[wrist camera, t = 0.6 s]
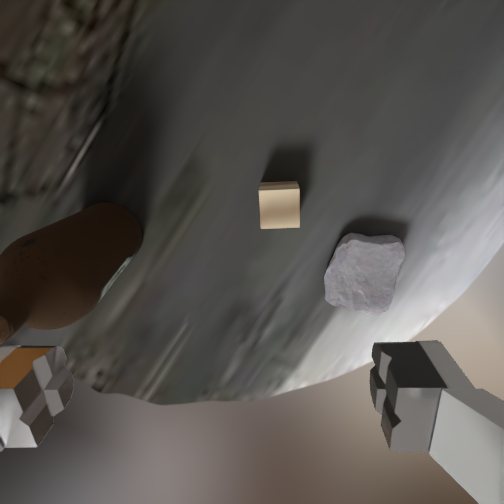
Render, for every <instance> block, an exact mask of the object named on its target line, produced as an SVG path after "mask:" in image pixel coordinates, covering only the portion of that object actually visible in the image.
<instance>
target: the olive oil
mask: <svg viewBox="0 0 504 504" xmlns="http://www.w3.org/2000/svg"><path fill="white" fill-rule="evenodd" d="M141 244H142V230H141V227H140V224H139V222H138V221H137V219H136V218H135V217H134V215H133V214H132V213H131V212H130V211H128V210H127V209H125V208H124V207H122V206H120V205H117V204H114V203H107V202H105V203H98V204H95V205H92V206H90V207H88V208H86V209H84V210H82V211H80V212H78V213H76V214H74V215H71V216H69V217H67V218H65V219H62V220H60V221H58V222H56V223H53V224H51V225H49V226H46V227H44V228H42V229H39V230H37V231H34V232H32V233H30V234H27V235H25V236H23V237H21V238H19V239H17V240H16V241H14V242H13V243H11V244H10V245H9V246H8V247H7V248H6V249H5V250H4V251H3V252H2V254H1V255H0V344H2V343H3V342H4V341H6V340H8V339H10V338H11V337H12V336H13V335H14V334H15V333H16V332H17V331H18V330H19V329H20V328H21V327H22V326H24V327H29V328H35V329H44V330H48V329H57V328H62V327H65V326H68V325H70V324H72V323H74V322H76V321H78V320H80V319H82V318H83V317H85V316H86V315H87V314H88V313H89V312H91V311H92V310H93V309H94V307H95V306H96V305H97V304H98V302H99V301H100V300H101V298H102V297H103V296H104V294H105V293H106V292H107V290H108V289H109V288H110V286H111V285H112V284H113V283H114V281H115V280H116V279H117V277H118V276H119V275H120V274H121V272H122V271H123V270H124V268H125V267H126V266H127V265H128V264H129V262H130V261H131V260H132V259H133V257H134V256H135V255H136V254H137V252H138V251H139V249H140V247H141Z"/></svg>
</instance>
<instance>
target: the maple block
mask: <svg viewBox="0 0 504 504" xmlns="http://www.w3.org/2000/svg"><path fill="white" fill-rule="evenodd" d="M259 201H260V221H261V229H271V228H298V227H300V189H299V186H298V183H297V181H286V182H264V183H260V187H259Z"/></svg>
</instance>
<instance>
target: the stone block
mask: <svg viewBox="0 0 504 504" xmlns="http://www.w3.org/2000/svg"><path fill="white" fill-rule="evenodd" d="M404 256H405V248H404V246H403V244H402V241H401V239H400V238H398V237H396V236H393V235H380V236H372V237H370V236H365V235H362V234H356V233H349V234H347V235H345V236H344V237H343V238H342V240H341V241H340V242H339V243H338V246H337V248H336V250H335V253H334V255H333V258H332V260H331V261H330V265H329V267H328V268H327V271H326V273H325V276H324V282H325V299H326V300H327V301H328V302H329V303H330V304H332V305H334V306H337V307H342V308H345V309H349V310H354V311H361V312H364V313H367V314H372V315H378V314H380V313H382V312H385V311H386V310H388V308H389V306H390V304H391V301H392V298H393V294H394V290H395V285H396V278H397V274H398V270H399V268H400V264H401V263H402V261H403V259H404Z"/></svg>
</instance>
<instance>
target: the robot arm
mask: <svg viewBox="0 0 504 504" xmlns="http://www.w3.org/2000/svg"><path fill="white" fill-rule="evenodd" d="M372 358H373V360H374V363H375V366H374V367H373V368H372V369H371V370H370V391H371V396H372V401H373V404H374V407H375V410H376V411H378V412H379V413H380V414H381V415H382V419H381V427H382V430H383V433H384V436H385V438H386V441H387V444H388V447H389V450H390V451H407V452H430V453H429V455H430V456H431V457H432V458H433V459H434V460H435V461H436V462H437V463H439V465H441V466H442V467H443V468H444V469H445V470H446V471H447V472H448V473H449V474H450V475H451V476H452V477H453V478H454V479H455V480H456V481H457V482H458V483H459V484H460V485H461V486H462V487H463V488H464V489H465V490H466V491H467V492H468V493H469V494H470V495H471V496H472V497H473V498H474V499H475V500H476V501H477V502H478V503H479V504H504V401H503V400H501V399H499V398H498V397H496V396H494V395H492V394H490V393H489V392H487V391H485V390H484V389H475V387H474V386H473V385H472V383H471V382H470V381H469V379H468V378H467V377H466V376H465V374H464V373H463V372H462V370H461V369H460V368H459V366H458V365H457V363H456V362H455V361H454V359H453V358H452V357H451V355H450V354H449V353H448V351H447V350H446V349H445V347H444V346H443V344H442V343H441V342H439V341H437V340H435V341H416V342H378V343H374V345H373V349H372ZM66 359H67V358H66V355H65V353H64V350H63V348H61V347H58V346H3V347H0V452H1V451H2V450H3V448H14V447H38V445H39V444H40V442H41V441H42V440H43V438H44V437H45V435H46V434H47V433H48V431H49V430H50V428H51V427H52V425H53V424H54V420H53V416H54V415H56V414H57V413H59V412H60V411H62V410H63V409H64V408H65V407H66V405H67V404H68V402H69V401H70V399H71V395H72V392H73V388H74V382H73V376H72V373H71V371H69V370H68V369H67V368H66V367H65V366H64V363H65V361H66Z"/></svg>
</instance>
